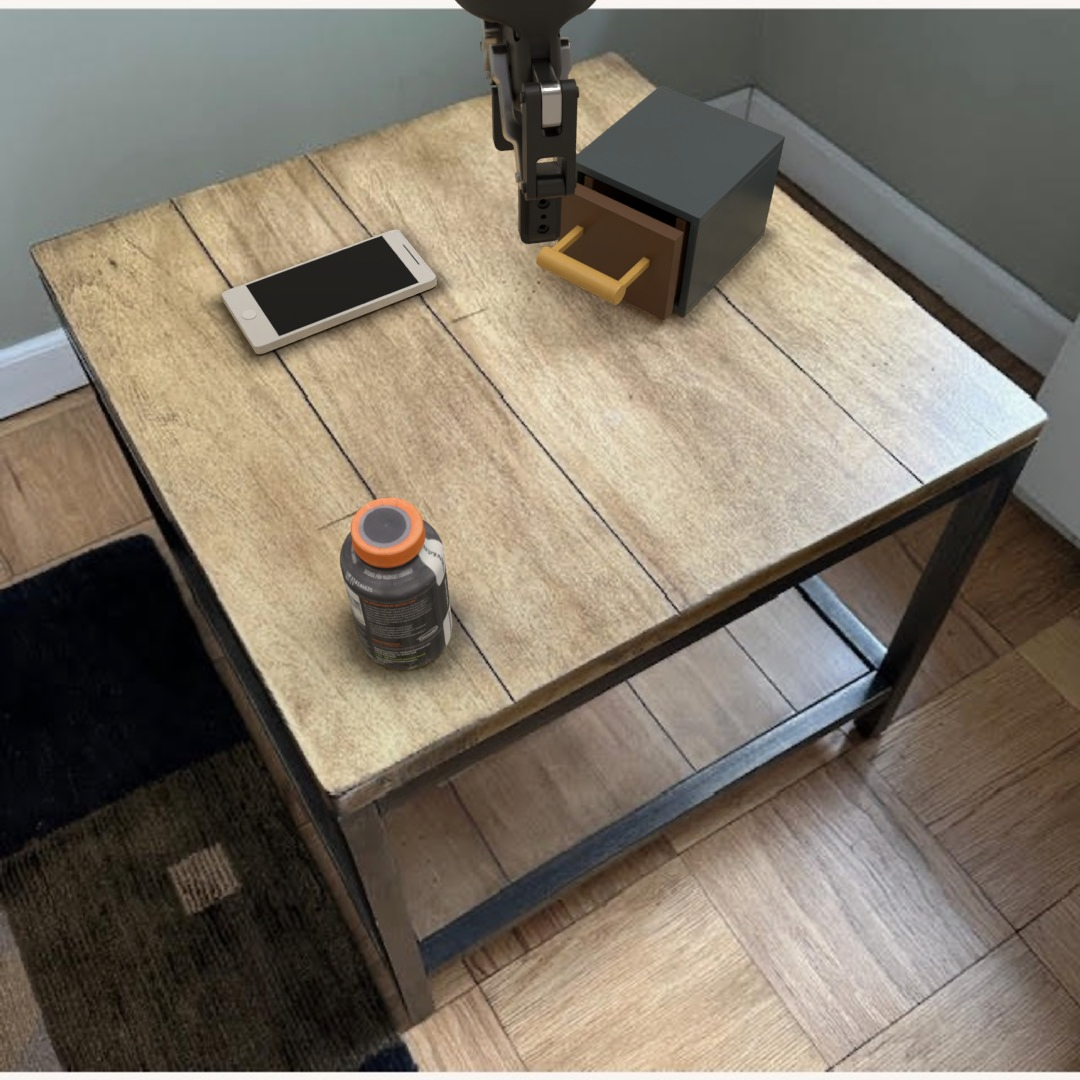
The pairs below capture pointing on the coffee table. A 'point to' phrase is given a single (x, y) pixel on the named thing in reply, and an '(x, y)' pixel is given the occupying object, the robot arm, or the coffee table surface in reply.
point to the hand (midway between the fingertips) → (525, 190)
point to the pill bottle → (396, 584)
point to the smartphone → (328, 290)
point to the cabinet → (692, 178)
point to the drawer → (619, 248)
